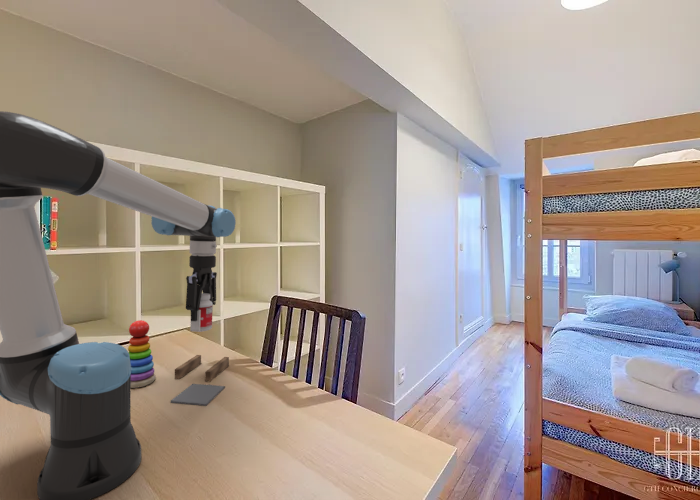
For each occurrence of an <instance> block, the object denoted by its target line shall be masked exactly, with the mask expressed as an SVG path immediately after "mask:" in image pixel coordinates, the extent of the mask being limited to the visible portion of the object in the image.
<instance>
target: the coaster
mask: <svg viewBox="0 0 700 500" xmlns="http://www.w3.org/2000/svg"><path fill="white" fill-rule="evenodd" d="M225 388H226V386H224V385H214V384H204V383H203V384H202V383H192V384H190V385H189V386H188V387H187V388H184V390H183V391H182V392H180V393H179V394H177V395H176V396H175V397H174V398H173V399H171V400H170V404H171V403H172V404H181V405H183V404H184V405H190V406H191V405H194V406H203V407H204V406H205V407H206V406H208V405H209V404H210V403H211V402H212V401H213V400H214V399H215V398H216V397H218V395H219V394H220V393H221V392H222V391H224V389H225Z"/></svg>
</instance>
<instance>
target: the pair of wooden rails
mask: <svg viewBox="0 0 700 500" xmlns="http://www.w3.org/2000/svg"><path fill="white" fill-rule="evenodd" d="M229 360H230V356H229V357H228V356H224V357H222V358H221V359H219V361H217V362H216V363H214V364H213V365H212V366H211V367H209V368H208V369H207V370H205V371H204V372H205V376H204V377H205V382H209V383H210V382H211V381H213V380H214V379H215V378H216V377H217V376H219V374H220V373H222V372H223V371H224V370H226V369H227V368H229V365H230V361H229ZM201 364H202V355H201V354H196V355H194V356H193V357H191V358H190V359H188V360H187V361H185V362H184V363H182V364H181V365H179V366H178V367H176V368H174V380H180V379H182V378H183V377H185V376H186V375H187V374H189V373H190V372H191V371H193V370H194V369H196V368H197V367H198V366H200V365H201Z"/></svg>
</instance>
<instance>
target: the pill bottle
mask: <svg viewBox="0 0 700 500" xmlns="http://www.w3.org/2000/svg"><path fill="white" fill-rule="evenodd" d="M209 299H210V294H208V293H203V292H202V295H201V301H200V306H199V310H201V320H200V331H199V333H200V332H207V331H209V330H211V329H212V328H213V307H214V305H213V303H212V302H211V301H210V300H209Z"/></svg>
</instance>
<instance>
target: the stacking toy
mask: <svg viewBox="0 0 700 500" xmlns="http://www.w3.org/2000/svg"><path fill="white" fill-rule="evenodd" d="M128 327H129V328H128V332H129V334H130V335H131V336H130V339H129V340H128V341H129V346H128V347H127V349H128V350H127V351H128V353H129V356H130V363H131V368H132V370H131V389H136V388H142V387H146V386H148V385H150V384H152V383H153V382H154V381H155V380H156V378H157V377H156V373H155V368H154V364H155V362H154V361H153V359H154V358H153V355H152V349H151V348H150V347H151V344H150V343H149V342H150V336H149V335H147V334H148V333H149V331H150V325H149V323H148V322H147V321H145V320H140V319H139V320H135V321H134V322H132V323H131V324H130V326H128Z"/></svg>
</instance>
